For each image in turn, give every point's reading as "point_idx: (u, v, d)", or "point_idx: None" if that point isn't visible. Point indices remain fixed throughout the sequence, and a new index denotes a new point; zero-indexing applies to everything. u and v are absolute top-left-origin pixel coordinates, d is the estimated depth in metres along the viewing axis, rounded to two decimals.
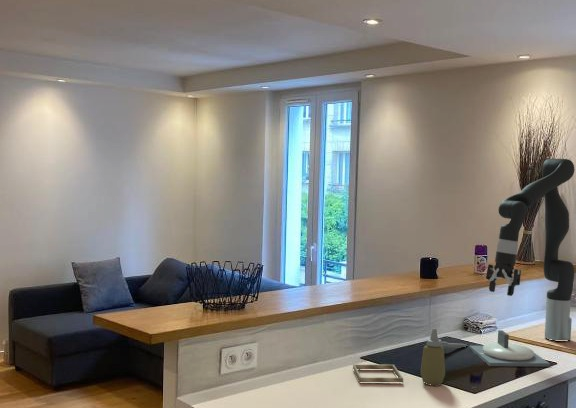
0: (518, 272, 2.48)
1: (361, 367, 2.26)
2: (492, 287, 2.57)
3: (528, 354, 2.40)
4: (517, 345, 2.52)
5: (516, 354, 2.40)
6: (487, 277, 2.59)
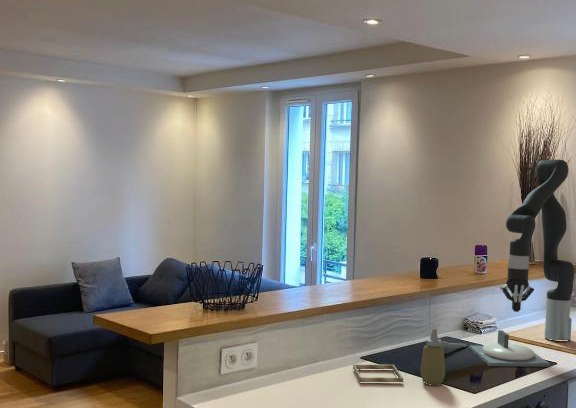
0: None
1: (361, 367, 2.26)
2: None
3: (528, 354, 2.40)
4: (517, 345, 2.52)
5: (516, 354, 2.40)
6: (511, 298, 2.52)
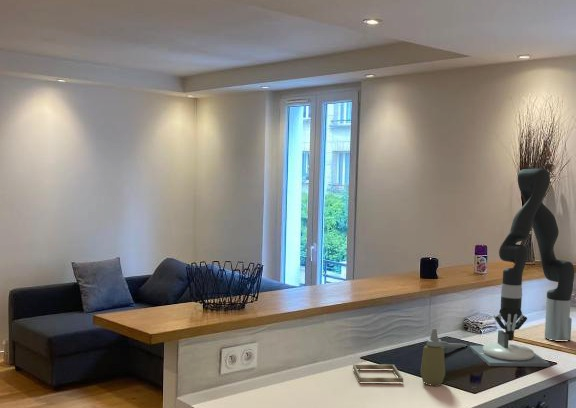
0: None
1: (361, 367, 2.26)
2: None
3: (528, 354, 2.40)
4: (517, 345, 2.52)
5: (516, 354, 2.40)
6: (504, 327, 2.52)
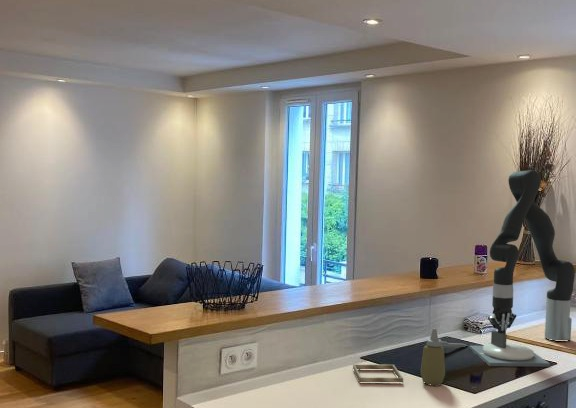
0: None
1: (361, 367, 2.26)
2: None
3: (531, 352, 2.43)
4: (509, 344, 2.54)
5: (521, 354, 2.41)
6: (499, 327, 2.52)
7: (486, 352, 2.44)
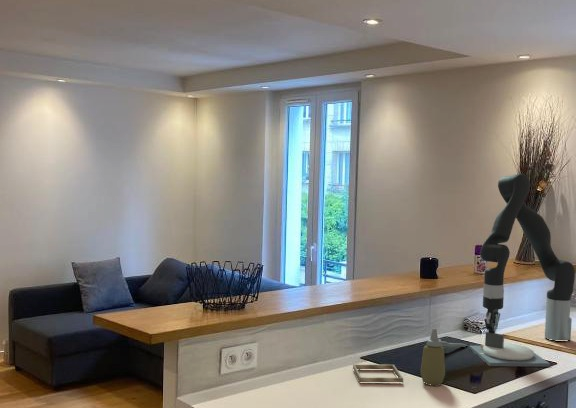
0: None
1: (361, 367, 2.26)
2: None
3: (529, 349, 2.47)
4: None
5: (526, 352, 2.43)
6: (493, 328, 2.50)
7: (495, 355, 2.40)
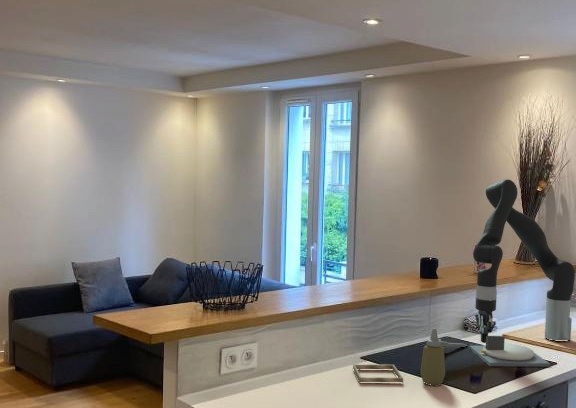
0: None
1: (361, 367, 2.26)
2: None
3: (517, 345, 2.52)
4: None
5: (523, 348, 2.48)
6: None
7: (515, 358, 2.38)
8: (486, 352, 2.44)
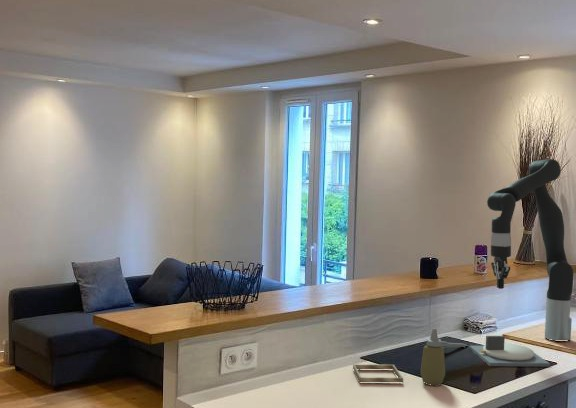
0: None
1: (361, 367, 2.26)
2: None
3: (517, 345, 2.52)
4: None
5: (523, 348, 2.48)
6: None
7: (515, 358, 2.38)
8: (486, 352, 2.44)
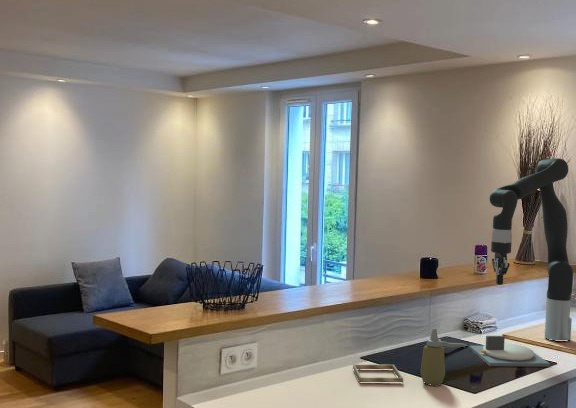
0: None
1: (361, 367, 2.26)
2: None
3: (517, 345, 2.52)
4: None
5: (523, 348, 2.48)
6: None
7: (515, 358, 2.38)
8: (486, 352, 2.44)
